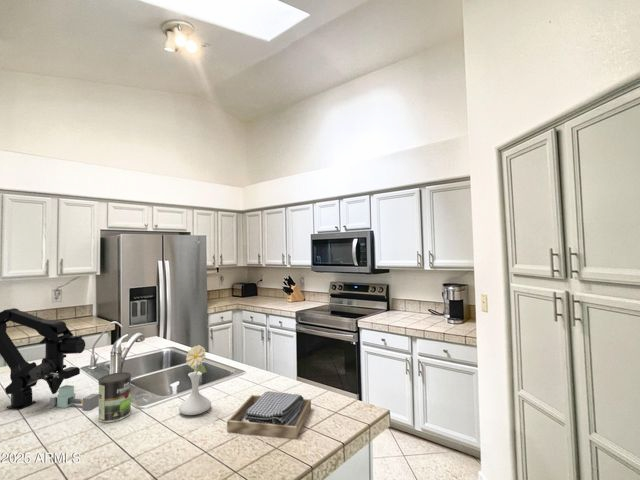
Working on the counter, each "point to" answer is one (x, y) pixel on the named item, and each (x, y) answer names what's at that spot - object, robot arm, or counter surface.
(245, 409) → the linen tray frame
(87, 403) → the grey angular piece
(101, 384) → the coffee can
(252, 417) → the towel
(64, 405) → the mint stepped block
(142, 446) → the counter surface
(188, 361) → the flower in vase
